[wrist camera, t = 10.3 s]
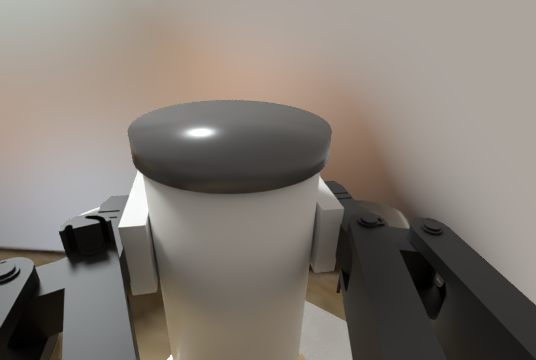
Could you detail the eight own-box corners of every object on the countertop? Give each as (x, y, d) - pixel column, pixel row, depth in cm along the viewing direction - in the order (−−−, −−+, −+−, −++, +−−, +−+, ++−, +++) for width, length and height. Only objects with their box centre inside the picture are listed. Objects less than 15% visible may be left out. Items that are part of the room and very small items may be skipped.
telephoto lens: (251, 451, 11) (256, 188, 6) (136, 355, 14) (82, 127, 9) (326, 325, 15) (360, 119, 11) (228, 273, 18) (222, 93, 14)
